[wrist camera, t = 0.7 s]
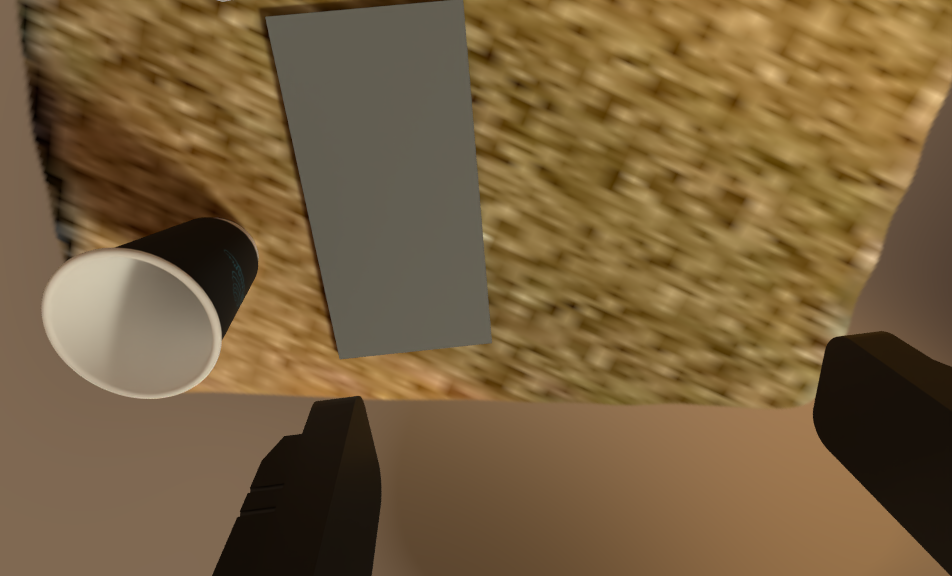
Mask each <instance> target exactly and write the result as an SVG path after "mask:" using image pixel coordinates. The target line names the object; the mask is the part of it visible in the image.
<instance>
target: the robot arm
mask: <svg viewBox="0 0 952 576" xmlns="http://www.w3.org/2000/svg"><path fill="white" fill-rule="evenodd" d="M813 421H814V425H815V428H816V431H817V434H818V436H819V438H820V440H821V441H822V443H823V444H824V445H825V447H826V448H827V449H828V450H829V451H830V452H831V453H832V454H833V455H834V456H835V457H836V458H837V459H838V460H839V461H840V462H841V464H842V465H844V467H845V468H846V469H847V470H848V471H849V472H850V473H851V474H852V475H853V476H854V477H855V478H856V479H857V480H858V481H859V482H860V483H861V484H862V485H863V486H864V487H865V488H866V489H867V490H868V491H869V492H870V493H871V494H872V495H873V496H874V497H875V498H876V500H877V501H878V502H880V503H881V505H882V506H883V507H884V508H885V509H886V510H887V511H888V512H889V513H890V514H891V515H892V516H893V517H894V518H895V519H896V520H897V521H898V522H899V523H900V524H901V525H902V526H903V527H904V528H905V529H906V530H907V531H908V532H909V533H910V534H911V535H912V537H914V539H915V540H916V541H917V542H918V543H919V544H920V545H922V547H923V548H924V549H925V550H926V551H927V552H928V553H929V554H930V555H931V556H932V557H933V558H934V559H935V560H936V561H937V562H938V563H939V564H940V565H941V566H942V567H943V568H944V569H945V570H946V571H947V572H948V574H949V575H950V576H952V367H950V366H948V365H945V364H943V363H940V362H938V361H935V360H933V359H931V358H930V357H928V356H926V355H925V354H923V353H922V352H920V351H918V350H917V349H915V348H913V347H912V346H910V345H909V344H907V343H905V342H904V341H902V340H901V339H899V338H898V337H896V336H894V335H893V334H891V333H888V332H884V331H879V332H871V333H864V334H856V335H847V336H839V337H835V338H833V339H831V340H830V341H829V343H828V344H827V346H826V349H825V353H824V358H823V363H822V368H821V373H820V378H819V383H818V388H817V393H816V398H815V403H814V408H813ZM250 490H251V491H250V493H248V494H247V496H246V498H245V501H244V503H243V505H242V508H241V510H240V517H238V518H237V519H236V522H235V524H234V526H233V528H232V531H231V533H230V535H229V538H228V540H227V542H226V545H225V547H224V549H223V552H222V554H221V556H220V559H219V561H218V563H217V565H216V568H215V570H214V573H213V575H212V576H371V575H372V569H373V561H374V553H375V546H376V537H377V530H378V522H379V515H380V507H381V476H380V468H379V463H378V458H377V454H376V450H375V446H374V442H373V438H372V434H371V429H370V426H369V421H368V417H367V413H366V409H365V405H364V402H363V400H362V398H361V397H360V396H354V397H347V398H339V399H331V400H323V401H316V402H314V404H313V406H312V408H311V411H310V413H309V416H308V419H307V422H306V425H305V427H304V430H303V433H302V434H299V435H290V436H284V437H283V438H282V439H281V440H280V442H279V443H278V444H277V445H276V446H275V447H274V448H273V449H272V450H271V451H270V452H269V453H268V454H267V456H266V457H265V458H264V459H263V460H262V462H261V464H260V466H259V468H258V471H257V473H256V476H255V478H254V480H253V482H252V485H251V487H250Z"/></svg>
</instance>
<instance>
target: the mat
mask: <svg viewBox="0 0 952 576" xmlns="http://www.w3.org/2000/svg"><path fill="white" fill-rule="evenodd" d="M265 18H266V23H267V28H268V32H269V37H270V41H271V46H272V50H273V55H274V60H275V64H276V69H277V73H278V78H279V83H280V87H281V92H282V96H283V101H284V106H285V110H286V115H287V119H288V124H289V128H290V133H291V138H292V142H293V147H294V151H295V156H296V161H297V165H298V170H299V174H300V179H301V184H302V188H303V193H304V197H305V202H306V206H307V211H308V216H309V220H310V225H311V229H312V234H313V239H314V243H315V248H316V252H317V257H318V262H319V266H320V271H321V275H322V280H323V284H324V289H325V294H326V298H327V303H328V307H329V312H330V317H331V321H332V326H333V330H334V335H335V339H336V344H337V349H338V353H339V358H340V359H347V358H357V357H366V356H375V355H385V354H394V353H403V352H412V351H422V350H431V349H440V348H450V347H459V346H468V345H478V344H487V343H492V339H491V327H490V315H489V303H488V292H487V280H486V268H485V256H484V244H483V232H482V220H481V208H480V196H479V185H478V173H477V161H476V149H475V137H474V125H473V113H472V101H471V89H470V77H469V66H468V54H467V42H466V30H465V18H464V6H463V0H447V1H436V2H425V3H413V4H402V5H391V6H380V7H369V8H358V9H347V10H336V11H325V12H314V13H302V14H291V15H280V16H269V17H265Z"/></svg>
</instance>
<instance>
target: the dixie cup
mask: <svg viewBox="0 0 952 576" xmlns="http://www.w3.org/2000/svg"><path fill="white" fill-rule="evenodd" d="M257 270H258V250H257V247H256V244H255V242H254V240H253V238H252V237H251V236H250V234H249V233H248V232H247V231H246V230H245V229H244V228H242V227H241V226H240V225H238V224H236V223H234V222H232V221H230V220H226V219H222V218H198V219H194V220H191V221H188V222H185V223H183V224H180V225H177V226H174V227H171V228H169V229H166V230H163V231H160V232H157V233H155V234H152V235H149V236H146V237H143V238H141V239H138V240H135V241H132V242H129V243H127V244H124V245H121V246H118V247H115V248H102V249H95V250H91V251H87V252H84V253H82V254H79V255H77V256H75V257H73V258H71V259H69V260H68V261H66V262H65V263H64V264H62V265H61V266H60V267H59V268H58V269H57V270H56V271H55V272H54V274H53V275H52V276H51V278H50V279H49V281H48V283H47V285H46V287H45V290H44V292H43V297H42V303H41V313H42V321H43V325H44V328H45V331H46V334H47V337H48V339H49V341H50V342H51V344H52V346H53V347H54V349H55V351H56V352H57V353H58V355H59V356H60V357H61V358H62V359H63V361H64V362H65V363H66V364H67V365H68V366H69V367H70V368H71V369H73V370H74V371H75V372H76V373H77V374H79V375H80V376H81V377H83V378H84V379H86V380H87V381H89V382H91V383H93V384H94V385H96V386H99V387H100V388H102V389H105V390H107V391H110V392H113V393H116V394H119V395H123V396H127V397H133V398H142V399H156V398H164V397H170V396H174V395H177V394H180V393H183V392H185V391H187V390H189V389H191V388H193V387H194V386H196V385H197V384H199V383H200V382H201V381H202V380H204V379H205V378H206V377H207V376H208V374H209V373H210V372H211V371H212V369H213V368H214V366H215V364H216V362H217V360H218V357H219V354H220V350H221V343H222V339H223V338H224V336H225V334H226V332H227V330H228V328H229V326H230V324H231V322H232V321H233V319H234V317H235V315H236V313H237V311H238V309H239V307H240V305H241V303H242V302H243V300H244V298H245V296H246V294H247V292H248V290H249V288H250V286H251V285H252V283H253V281H254V279H255V277H256V274H257Z"/></svg>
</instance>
